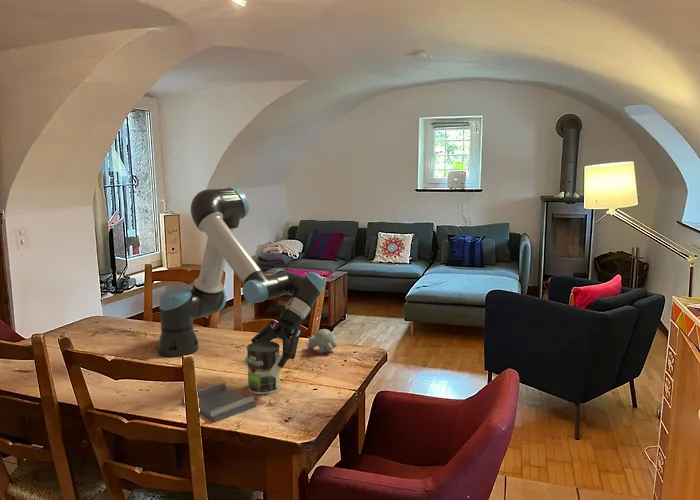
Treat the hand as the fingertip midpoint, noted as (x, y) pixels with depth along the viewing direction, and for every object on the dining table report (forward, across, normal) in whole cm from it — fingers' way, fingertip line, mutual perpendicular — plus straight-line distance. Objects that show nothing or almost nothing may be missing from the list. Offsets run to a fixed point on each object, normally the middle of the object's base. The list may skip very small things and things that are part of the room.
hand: (258, 369), depth 176 cm
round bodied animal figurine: (-22, +12, -32) cm, 41 cm away
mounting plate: (+15, 0, +6) cm, 16 cm away
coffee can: (+4, 0, -6) cm, 7 cm away
